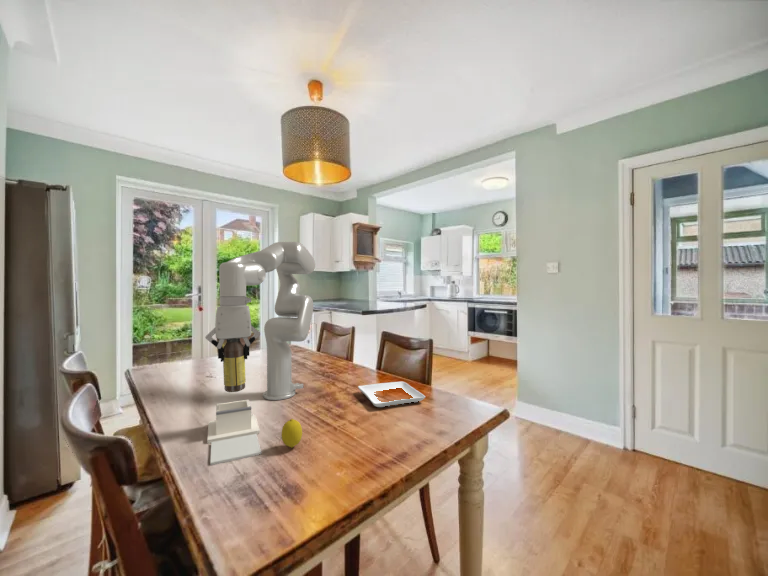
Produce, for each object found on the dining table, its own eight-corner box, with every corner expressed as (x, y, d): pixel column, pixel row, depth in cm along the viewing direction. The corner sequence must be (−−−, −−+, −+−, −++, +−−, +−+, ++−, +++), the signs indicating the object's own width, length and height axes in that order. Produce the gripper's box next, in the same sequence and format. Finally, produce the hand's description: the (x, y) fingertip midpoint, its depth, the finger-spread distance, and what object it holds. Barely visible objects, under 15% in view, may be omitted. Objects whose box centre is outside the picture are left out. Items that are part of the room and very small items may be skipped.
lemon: (294, 441, 95) (294, 413, 95) (306, 447, 92) (306, 418, 92) (277, 448, 91) (277, 419, 91) (289, 454, 88) (289, 425, 88)
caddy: (255, 416, 113) (255, 394, 112) (259, 433, 100) (259, 408, 100) (208, 424, 106) (208, 401, 106) (207, 443, 94) (207, 416, 94)
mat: (256, 435, 99) (256, 433, 99) (261, 454, 88) (261, 452, 88) (211, 444, 93) (211, 442, 93) (210, 465, 83) (210, 462, 83)
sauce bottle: (244, 385, 108) (244, 324, 107) (246, 390, 102) (246, 327, 102) (222, 388, 105) (222, 325, 104) (223, 394, 99) (223, 328, 99)
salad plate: (426, 404, 125) (427, 395, 125) (374, 412, 118) (374, 403, 118) (403, 388, 145) (403, 380, 145) (357, 394, 137) (357, 385, 137)
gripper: (261, 300, 110) (261, 354, 110) (202, 302, 102) (203, 359, 103) (264, 302, 103) (264, 359, 104) (201, 303, 95) (201, 365, 96)
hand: (234, 359), depth 103 cm, fingers closed on sauce bottle, 6 cm apart
